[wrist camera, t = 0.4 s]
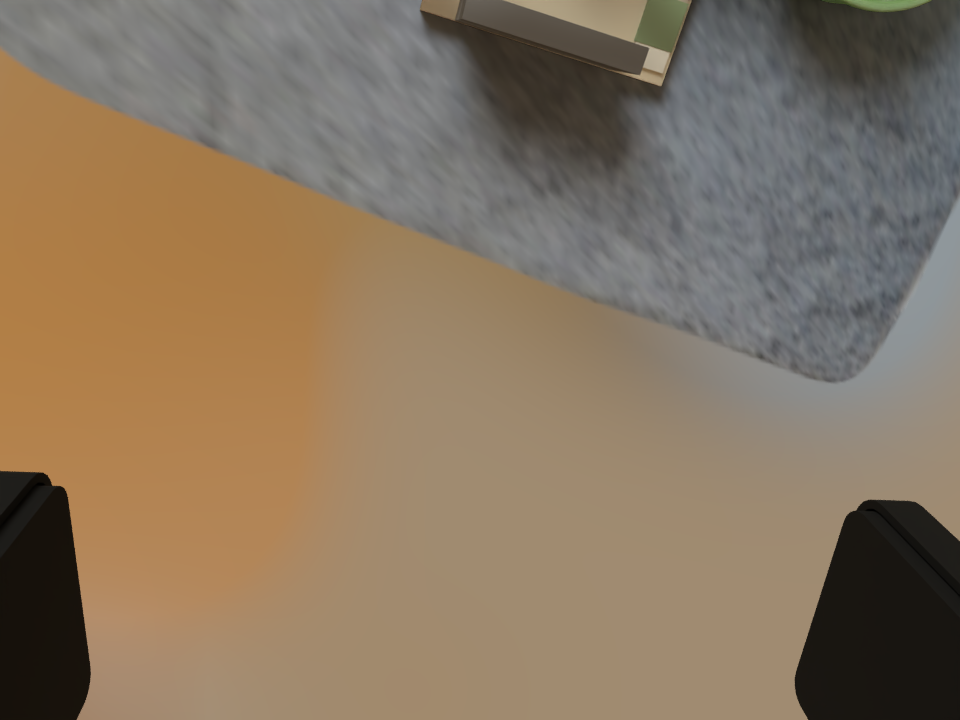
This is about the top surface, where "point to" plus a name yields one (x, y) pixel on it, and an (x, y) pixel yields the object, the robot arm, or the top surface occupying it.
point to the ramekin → (881, 4)
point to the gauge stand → (582, 29)
